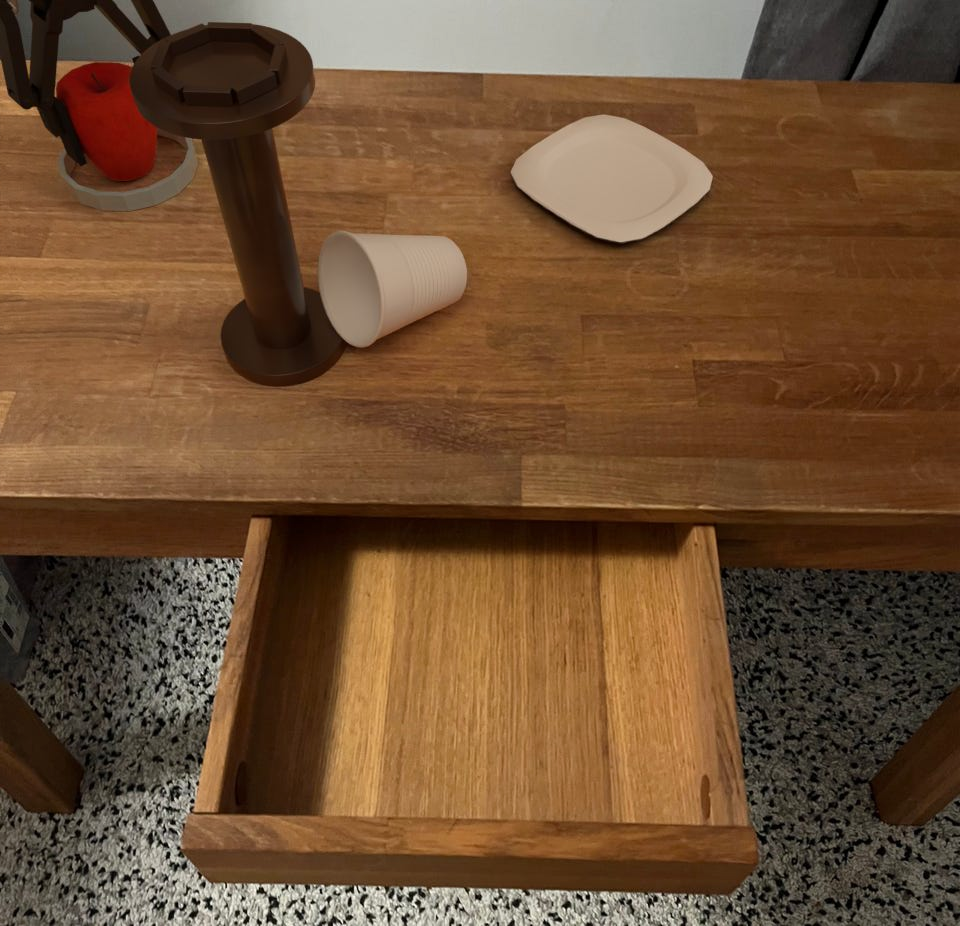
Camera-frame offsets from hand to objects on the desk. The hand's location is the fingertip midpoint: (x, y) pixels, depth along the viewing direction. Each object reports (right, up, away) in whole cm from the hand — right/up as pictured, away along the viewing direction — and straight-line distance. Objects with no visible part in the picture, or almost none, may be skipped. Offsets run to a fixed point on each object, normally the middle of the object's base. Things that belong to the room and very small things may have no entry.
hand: (119, 139), depth 90 cm
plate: (+51, -4, +3) cm, 51 cm away
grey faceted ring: (0, -2, +3) cm, 4 cm away
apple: (0, -2, +3) cm, 4 cm away
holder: (+19, -22, -11) cm, 31 cm away
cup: (+34, -15, -9) cm, 39 cm away
